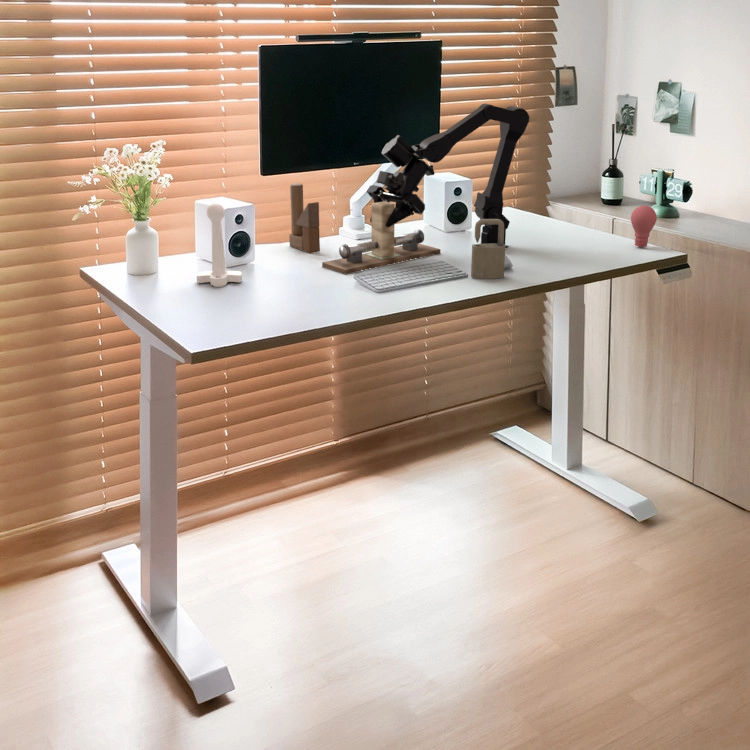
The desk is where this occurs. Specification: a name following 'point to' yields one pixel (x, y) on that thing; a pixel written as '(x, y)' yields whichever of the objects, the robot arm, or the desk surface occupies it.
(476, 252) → the padlock
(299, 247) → the wooden block
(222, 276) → the joystick
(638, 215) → the light bulb
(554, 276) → the desk surface
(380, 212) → the tan wood post
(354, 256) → the shafts
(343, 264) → the base board
